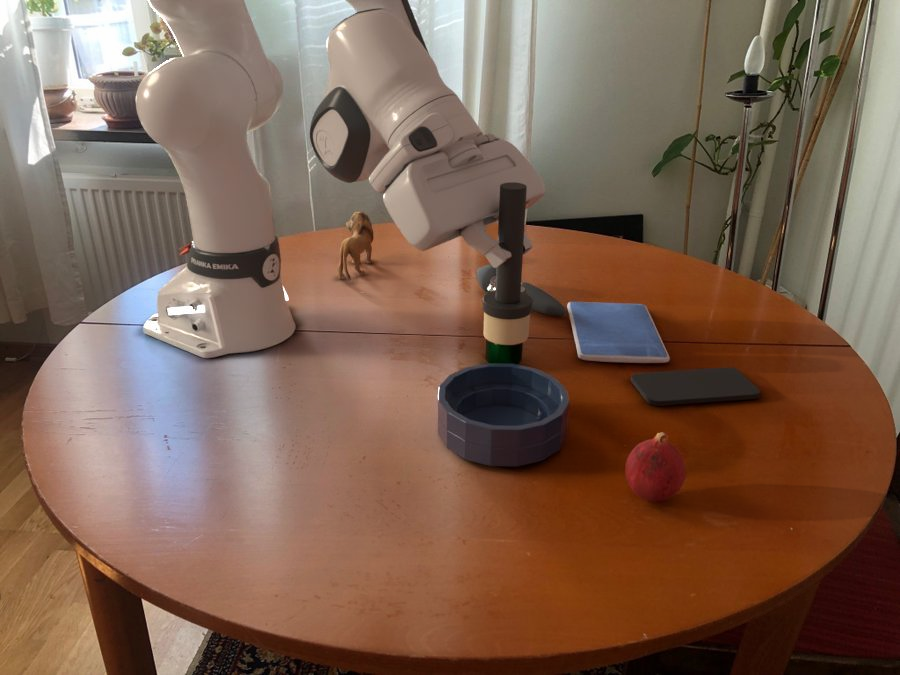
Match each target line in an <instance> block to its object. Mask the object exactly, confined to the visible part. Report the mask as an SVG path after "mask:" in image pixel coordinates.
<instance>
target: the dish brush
mask: <svg viewBox="0 0 900 675" xmlns="http://www.w3.org/2000/svg"><path fill="white" fill-rule="evenodd" d="M526 192H527V186H526V185H525V184H522V183H515V182H509V183H503V184H501V185H500V198H499V222H497V224H498V225H497V242H498V243H499V244H500V243H502V242H504V244H505V245H506V246H507V249H508V250H509V251H510V252H511V255H512V257H511V259H510V260H508V261H507V262H506V263H505V264H503V265H501V266H499V267H497V269H496V291H492V292H489V293H485V294H484V295H483V297H482V311H483V337H484V338H485V340H486V339H487V340H489V341H490V342H493V343H496V344H502V345H514V344H519V343H522V342H523V343H524V342H526V341H527V339H528V338H529V335H530V334H529V333H530V317H531V314H532V311H533V310H532V303H533V300H532V298H531V297H530V296H529V295H528V294H526V293H523V292H521V279H522V275H523V274H522V273H523V258H524V255H523V243H524V226H525V227H526V223H525V222H526V210H527V209H526Z"/></svg>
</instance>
